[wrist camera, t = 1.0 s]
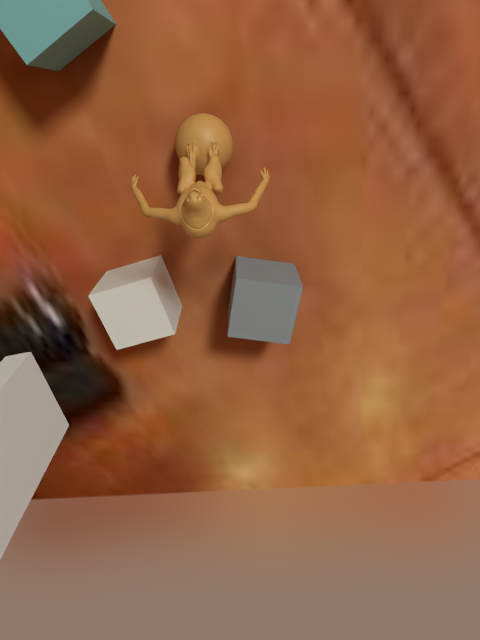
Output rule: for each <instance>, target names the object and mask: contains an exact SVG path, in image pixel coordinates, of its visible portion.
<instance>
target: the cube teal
mask: <svg viewBox="0 0 480 640" xmlns="http://www.w3.org/2000/svg"><path fill="white" fill-rule="evenodd" d="M114 25H116V24H115V22H114V21H113V19H112V17H111V16H110V14H109V13H108V11H107V9H106V8H105V6H104V5H103V3H102V1H101V0H0V29H1V31H2V32H3V33H4V35H5V36H6V37H7V39H8V40H9V42H10V43H11V44H12V46H13V47H14V48H15V50H16V51H17V52H18V54H19V55H20V57H21V58H22V59H23V61H24V62H25V63H26V65H29V66H34V67H40V68H45V69H51V70H56V71H60V70H61V69H62V68H63V67H65V66H66V65H67V64H68V63H69V62H71V61H72V60H73V59H74V58H75V57H77V56H78V55H79V54H80V53H82V52H83V51H84V50H85V49H86V48H88V47H89V46H90V45H91V44H92V43H94V42H95V41H96V40H97V39H99V38H100V37H101V36H102V35H103V34H105V33H106V32H107V31H108V30H110V29H111V28H112V27H113V26H114Z"/></svg>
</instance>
